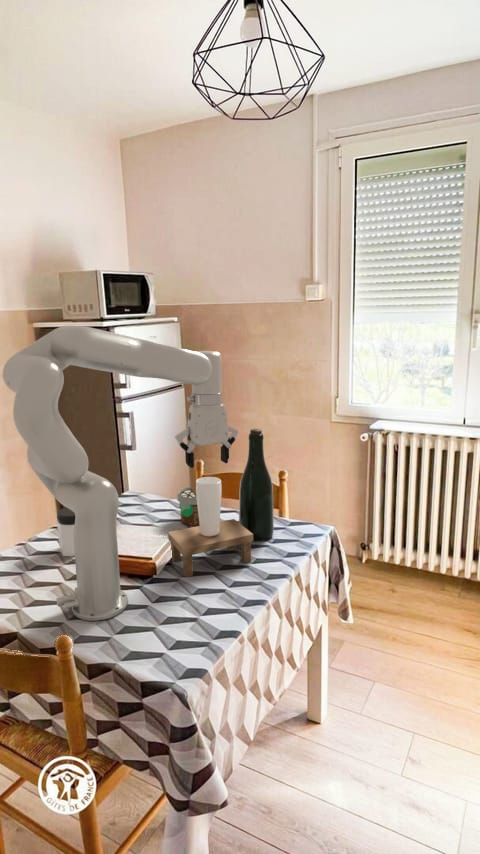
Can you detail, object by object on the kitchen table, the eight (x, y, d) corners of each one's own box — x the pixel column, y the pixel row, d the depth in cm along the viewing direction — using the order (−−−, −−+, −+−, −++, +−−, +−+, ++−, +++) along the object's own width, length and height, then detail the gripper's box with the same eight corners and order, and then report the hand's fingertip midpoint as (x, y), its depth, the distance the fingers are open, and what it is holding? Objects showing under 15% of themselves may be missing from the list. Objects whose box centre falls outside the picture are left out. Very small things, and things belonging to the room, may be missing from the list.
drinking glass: (218, 539, 138) (217, 485, 135) (194, 537, 140) (192, 483, 136) (224, 529, 145) (224, 477, 142) (201, 527, 146) (199, 475, 143)
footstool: (184, 578, 135) (183, 549, 133) (169, 559, 145) (167, 532, 143) (253, 561, 143) (253, 534, 142) (234, 544, 154) (233, 518, 152)
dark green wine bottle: (232, 534, 161) (230, 429, 154) (257, 525, 168) (256, 424, 160) (255, 545, 153) (254, 435, 146) (280, 535, 160) (281, 429, 153)
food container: (174, 516, 175) (173, 487, 173) (192, 514, 177) (192, 486, 175) (182, 530, 164) (181, 500, 162) (201, 528, 165) (200, 498, 163)
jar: (57, 547, 153) (53, 508, 150) (85, 541, 157) (82, 503, 154) (64, 559, 145) (61, 519, 143) (93, 552, 149) (90, 513, 147)
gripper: (180, 404, 127) (181, 472, 131) (243, 399, 135) (243, 463, 138) (169, 400, 134) (171, 464, 137) (231, 395, 141) (231, 457, 145)
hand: (207, 464), depth 138 cm, fingers open, 9 cm apart
